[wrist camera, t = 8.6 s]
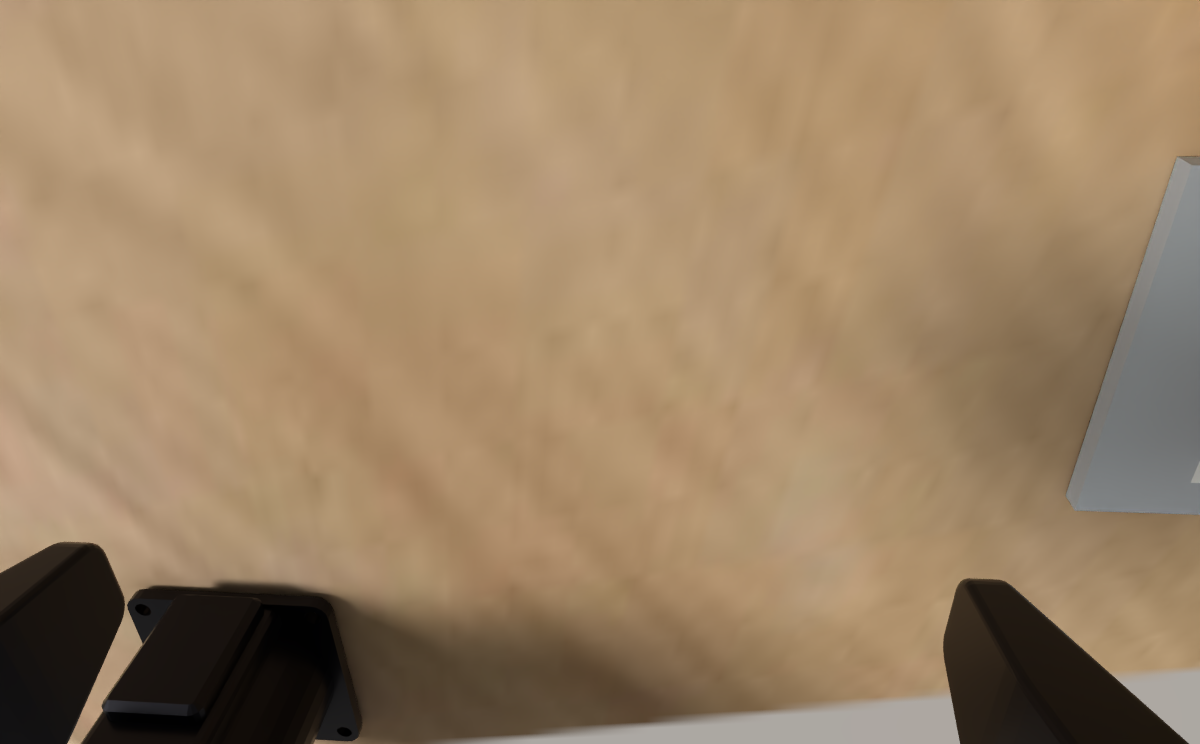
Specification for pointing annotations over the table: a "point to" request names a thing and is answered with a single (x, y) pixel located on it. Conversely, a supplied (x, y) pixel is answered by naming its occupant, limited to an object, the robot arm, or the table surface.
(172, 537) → the table surface
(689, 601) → the table surface
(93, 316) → the table surface
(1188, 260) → the grey flat plate
